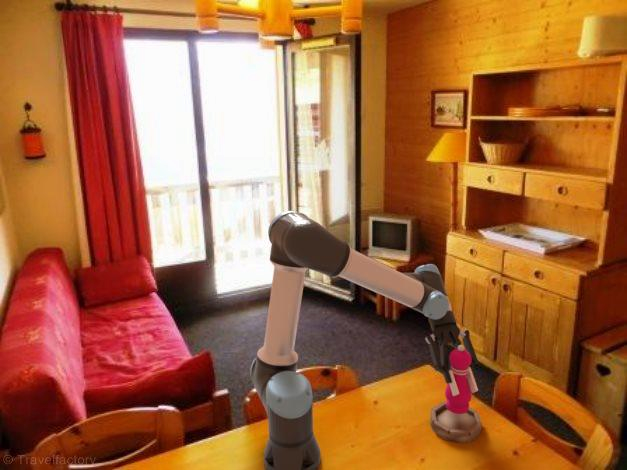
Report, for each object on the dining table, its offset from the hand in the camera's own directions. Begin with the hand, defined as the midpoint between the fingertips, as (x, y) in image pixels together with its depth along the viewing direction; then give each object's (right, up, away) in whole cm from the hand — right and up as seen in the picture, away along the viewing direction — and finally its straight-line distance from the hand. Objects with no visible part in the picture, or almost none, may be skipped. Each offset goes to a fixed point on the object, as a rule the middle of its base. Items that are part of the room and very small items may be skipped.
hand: (465, 393), depth 129 cm
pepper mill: (-1, -6, +6) cm, 8 cm away
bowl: (-1, -12, +7) cm, 14 cm away
